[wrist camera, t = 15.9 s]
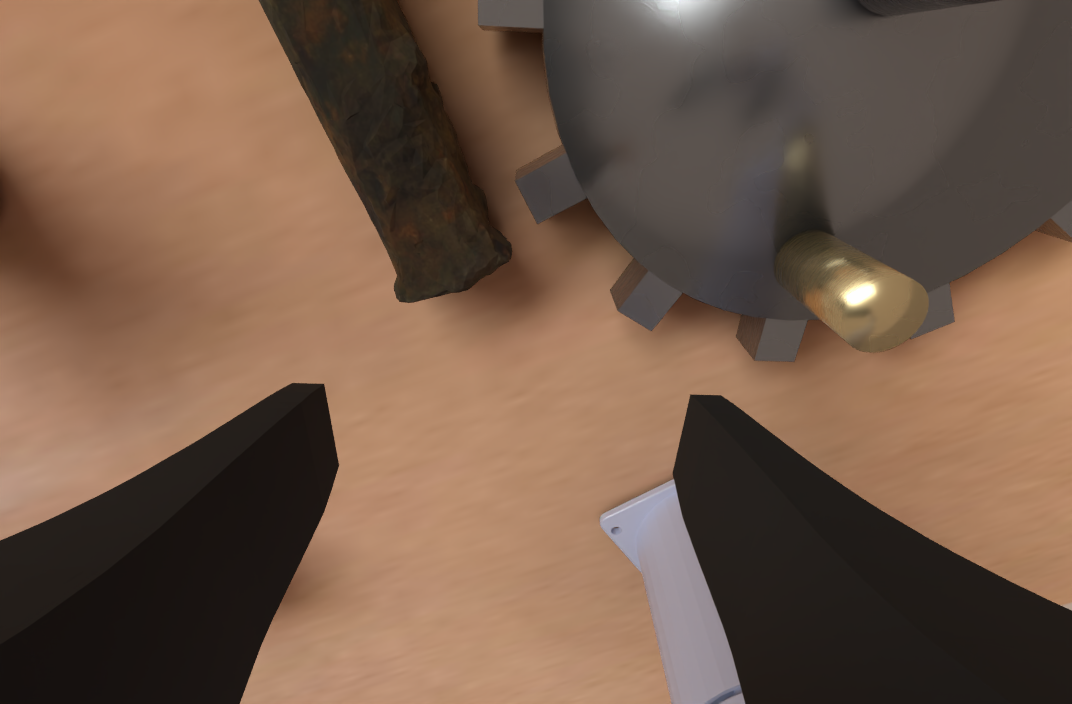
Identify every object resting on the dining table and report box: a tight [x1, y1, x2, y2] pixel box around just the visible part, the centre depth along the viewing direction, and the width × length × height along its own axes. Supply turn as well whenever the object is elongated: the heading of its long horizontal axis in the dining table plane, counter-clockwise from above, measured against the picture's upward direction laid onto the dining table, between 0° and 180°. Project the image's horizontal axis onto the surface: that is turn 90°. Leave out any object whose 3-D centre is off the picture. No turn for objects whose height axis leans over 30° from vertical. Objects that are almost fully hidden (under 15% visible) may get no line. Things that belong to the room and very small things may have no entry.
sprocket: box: [478, 0, 1072, 362], centre depth 12 cm, size 20×20×6 cm
